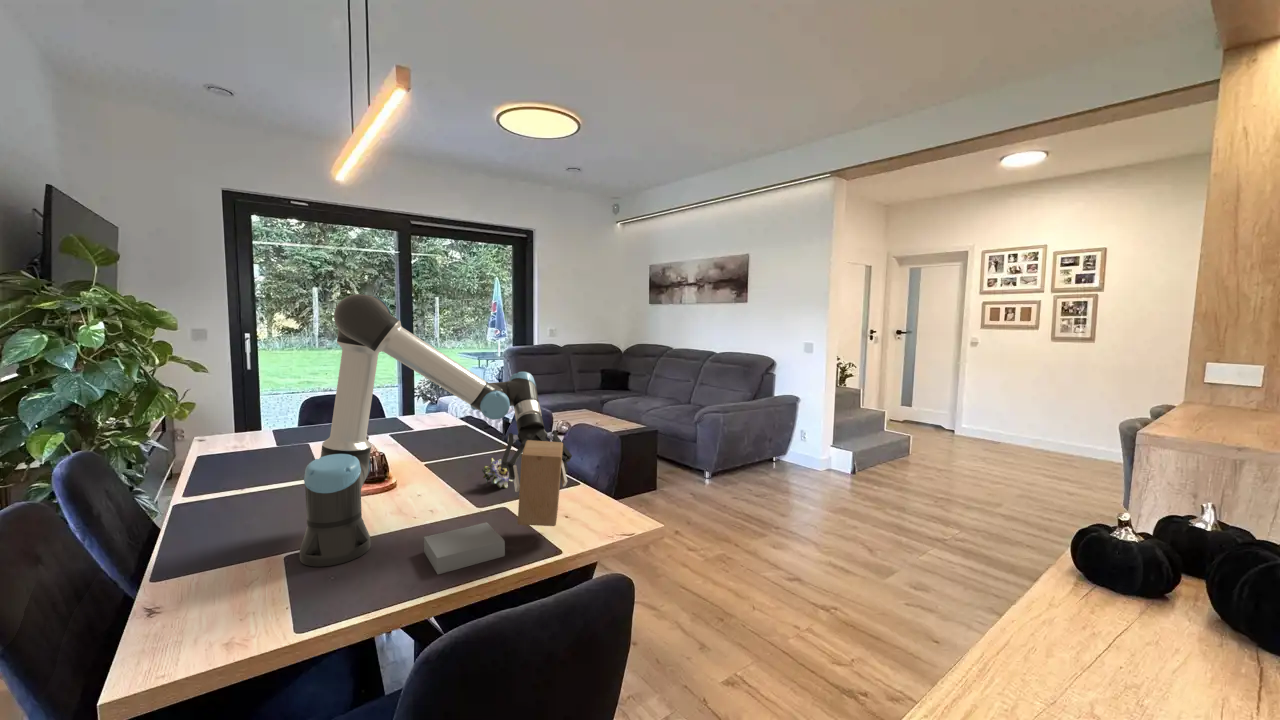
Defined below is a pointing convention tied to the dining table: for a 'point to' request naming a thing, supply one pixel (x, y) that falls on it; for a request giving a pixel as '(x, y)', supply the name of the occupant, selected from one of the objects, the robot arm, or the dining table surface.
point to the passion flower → (497, 474)
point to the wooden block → (540, 483)
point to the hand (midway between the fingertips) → (541, 487)
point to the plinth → (463, 547)
